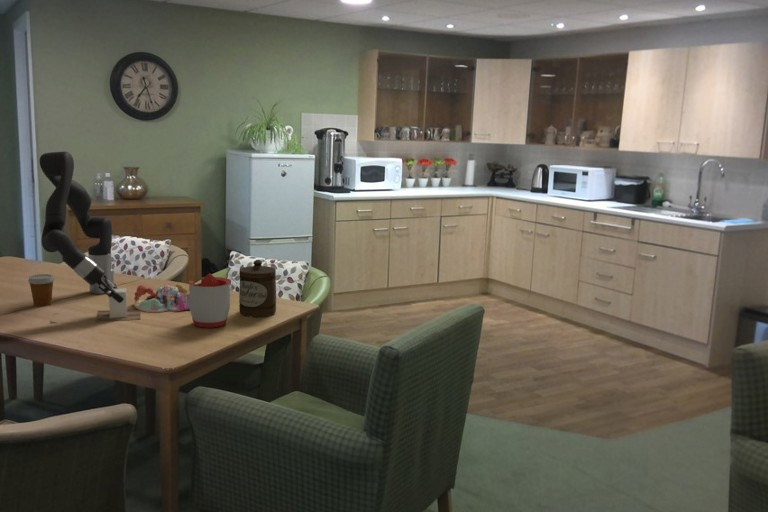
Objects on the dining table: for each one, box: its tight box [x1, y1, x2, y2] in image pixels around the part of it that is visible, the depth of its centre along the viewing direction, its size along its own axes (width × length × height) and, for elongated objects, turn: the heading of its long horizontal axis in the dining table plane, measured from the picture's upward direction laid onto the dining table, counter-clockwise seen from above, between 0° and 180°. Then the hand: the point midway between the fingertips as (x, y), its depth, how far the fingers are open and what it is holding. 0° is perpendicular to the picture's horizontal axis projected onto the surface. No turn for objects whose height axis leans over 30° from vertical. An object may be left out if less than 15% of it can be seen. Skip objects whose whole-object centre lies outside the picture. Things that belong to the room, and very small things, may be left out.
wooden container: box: [238, 259, 277, 318], centre depth 287 cm, size 15×15×22 cm
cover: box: [108, 287, 128, 318], centre depth 274 cm, size 6×6×10 cm
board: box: [95, 308, 141, 323], centre depth 275 cm, size 16×16×1 cm
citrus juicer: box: [188, 273, 232, 329], centre depth 269 cm, size 16×17×20 cm
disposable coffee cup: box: [27, 273, 55, 307], centre depth 286 cm, size 10×10×12 cm
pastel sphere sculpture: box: [133, 283, 190, 314], centre depth 292 cm, size 25×24×9 cm
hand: (122, 298), depth 274 cm, fingers open, 7 cm apart
